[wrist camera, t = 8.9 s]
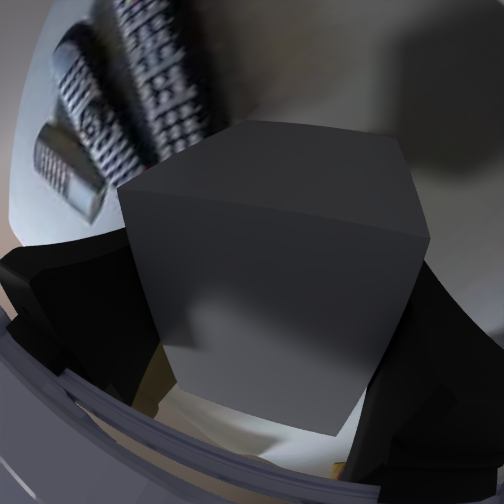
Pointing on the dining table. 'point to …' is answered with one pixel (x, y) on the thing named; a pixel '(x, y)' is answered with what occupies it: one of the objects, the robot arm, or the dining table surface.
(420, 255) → the dark gray square block
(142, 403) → the cork
